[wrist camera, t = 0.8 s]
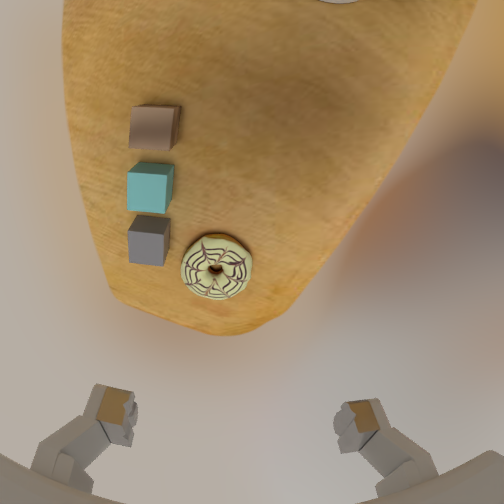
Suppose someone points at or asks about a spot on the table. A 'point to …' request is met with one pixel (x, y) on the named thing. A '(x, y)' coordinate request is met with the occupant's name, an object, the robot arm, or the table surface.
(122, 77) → the table surface
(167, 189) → the teal cube
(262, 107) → the table surface
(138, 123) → the walnut cube
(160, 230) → the charcoal cube
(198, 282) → the decorated donut
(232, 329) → the table surface
